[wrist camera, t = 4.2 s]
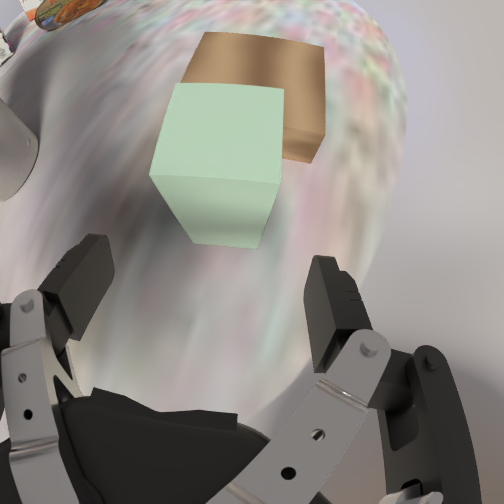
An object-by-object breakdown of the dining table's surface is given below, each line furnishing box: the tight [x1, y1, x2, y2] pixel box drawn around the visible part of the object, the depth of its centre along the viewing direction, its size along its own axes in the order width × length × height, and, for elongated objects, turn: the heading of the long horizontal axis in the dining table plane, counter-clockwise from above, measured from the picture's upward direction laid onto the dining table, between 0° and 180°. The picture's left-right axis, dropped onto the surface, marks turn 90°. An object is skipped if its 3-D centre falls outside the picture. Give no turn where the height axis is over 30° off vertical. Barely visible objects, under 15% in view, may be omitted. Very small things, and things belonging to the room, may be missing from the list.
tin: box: [35, 0, 104, 30], centre depth 25 cm, size 15×3×8 cm, turn 115°
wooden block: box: [181, 32, 325, 164], centre depth 22 cm, size 12×12×5 cm
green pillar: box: [149, 83, 284, 249], centre depth 16 cm, size 5×5×12 cm
